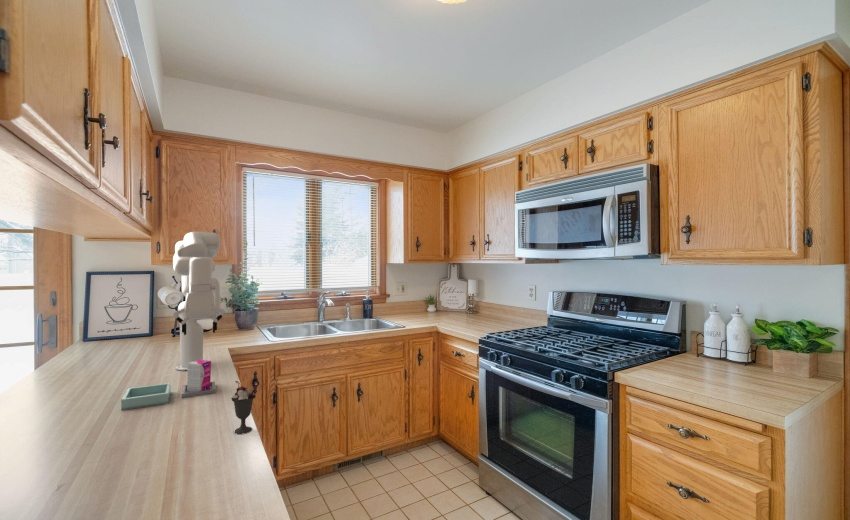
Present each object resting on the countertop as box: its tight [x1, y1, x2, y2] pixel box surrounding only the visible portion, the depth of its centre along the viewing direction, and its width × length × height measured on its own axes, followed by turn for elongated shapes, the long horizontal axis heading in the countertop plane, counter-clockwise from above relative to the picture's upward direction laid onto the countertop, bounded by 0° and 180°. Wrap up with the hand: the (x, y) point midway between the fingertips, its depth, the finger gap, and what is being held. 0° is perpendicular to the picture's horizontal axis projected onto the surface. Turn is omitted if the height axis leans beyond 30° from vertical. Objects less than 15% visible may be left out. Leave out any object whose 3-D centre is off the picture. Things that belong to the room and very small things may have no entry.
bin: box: [120, 382, 172, 411], centre depth 139 cm, size 13×13×4 cm
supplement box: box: [186, 359, 212, 392], centre depth 150 cm, size 6×6×12 cm
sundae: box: [230, 380, 256, 435], centre depth 116 cm, size 7×7×15 cm
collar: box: [181, 381, 217, 399], centre depth 150 cm, size 11×11×2 cm
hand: (199, 333), depth 150 cm, fingers open, 9 cm apart
